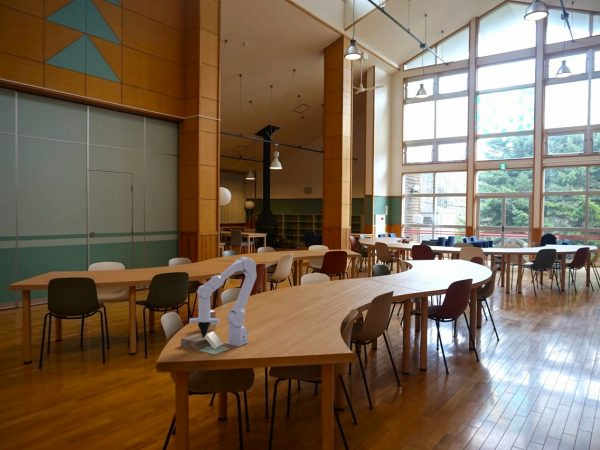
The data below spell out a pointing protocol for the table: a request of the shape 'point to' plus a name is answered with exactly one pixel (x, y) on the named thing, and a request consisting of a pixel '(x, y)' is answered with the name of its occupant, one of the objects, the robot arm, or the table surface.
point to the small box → (212, 325)
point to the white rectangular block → (213, 340)
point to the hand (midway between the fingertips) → (204, 337)
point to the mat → (214, 350)
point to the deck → (194, 342)
